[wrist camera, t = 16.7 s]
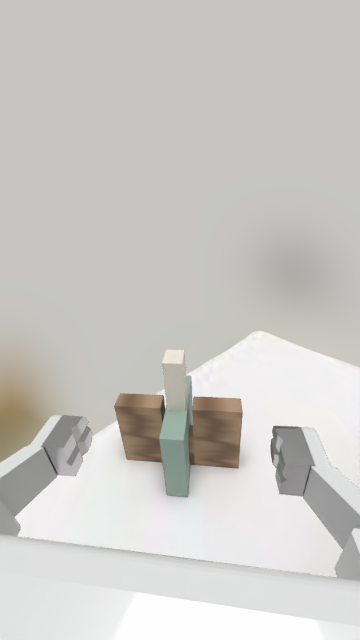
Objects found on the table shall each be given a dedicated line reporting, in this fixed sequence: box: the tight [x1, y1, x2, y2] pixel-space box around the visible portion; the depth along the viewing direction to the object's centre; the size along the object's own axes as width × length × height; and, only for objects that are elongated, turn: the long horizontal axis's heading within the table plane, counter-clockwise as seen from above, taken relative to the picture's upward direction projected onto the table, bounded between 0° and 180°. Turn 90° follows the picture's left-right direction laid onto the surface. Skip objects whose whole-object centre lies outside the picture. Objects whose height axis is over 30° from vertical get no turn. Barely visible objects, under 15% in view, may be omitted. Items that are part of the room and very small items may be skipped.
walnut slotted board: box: [114, 394, 243, 468], centre depth 38 cm, size 18×2×12 cm, turn 83°
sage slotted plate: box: [159, 350, 193, 497], centre depth 36 cm, size 3×12×20 cm, turn 173°
